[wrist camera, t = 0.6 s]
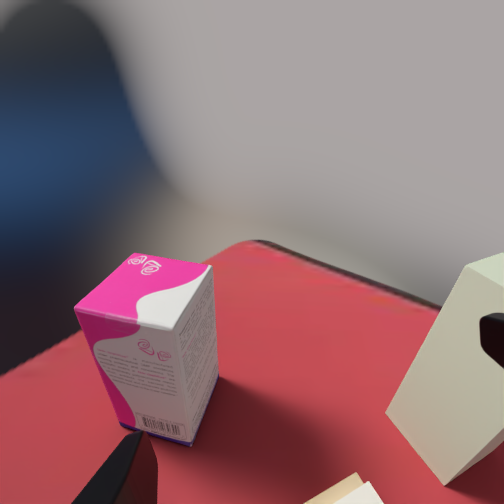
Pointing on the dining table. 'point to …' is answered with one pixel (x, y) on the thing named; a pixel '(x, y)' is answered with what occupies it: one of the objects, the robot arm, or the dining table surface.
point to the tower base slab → (337, 490)
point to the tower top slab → (361, 496)
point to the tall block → (456, 379)
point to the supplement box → (155, 343)
